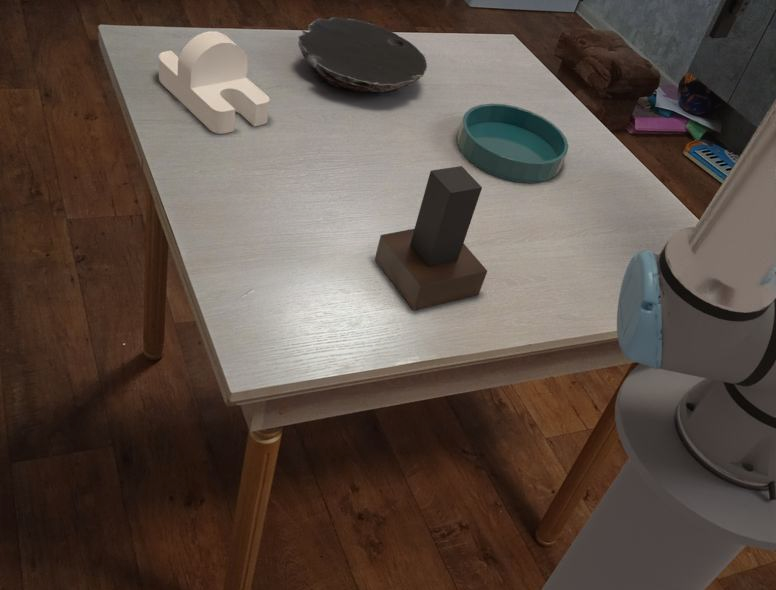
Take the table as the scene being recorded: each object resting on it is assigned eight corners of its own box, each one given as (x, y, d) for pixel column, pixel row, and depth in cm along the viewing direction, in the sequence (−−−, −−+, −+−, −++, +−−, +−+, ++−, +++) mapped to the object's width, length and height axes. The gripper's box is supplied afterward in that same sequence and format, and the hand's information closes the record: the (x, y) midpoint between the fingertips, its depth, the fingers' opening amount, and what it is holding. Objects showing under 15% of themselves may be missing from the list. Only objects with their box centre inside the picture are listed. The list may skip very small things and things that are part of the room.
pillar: (458, 260, 103) (482, 187, 96) (428, 266, 101) (450, 192, 93) (439, 238, 106) (461, 165, 98) (409, 244, 104) (430, 170, 96)
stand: (478, 294, 106) (487, 270, 103) (413, 310, 101) (420, 285, 98) (438, 246, 111) (445, 222, 108) (374, 259, 106) (380, 234, 104)
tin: (581, 175, 132) (589, 156, 130) (496, 189, 124) (503, 169, 122) (520, 118, 142) (526, 99, 139) (437, 128, 133) (442, 108, 131)
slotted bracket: (153, 75, 127) (153, 13, 120) (207, 65, 133) (210, 5, 126) (215, 135, 119) (219, 72, 112) (271, 122, 124) (278, 61, 118)
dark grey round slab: (401, 48, 151) (407, 21, 147) (437, 112, 137) (445, 84, 133) (282, 40, 144) (286, 12, 140) (308, 107, 130) (312, 77, 126)
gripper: (869, -126, 90) (768, 56, 105) (710, -200, 104) (641, -29, 119) (827, -130, 87) (729, 60, 101) (669, -205, 100) (602, -29, 115)
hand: (681, 12), depth 110 cm, fingers open, 13 cm apart
